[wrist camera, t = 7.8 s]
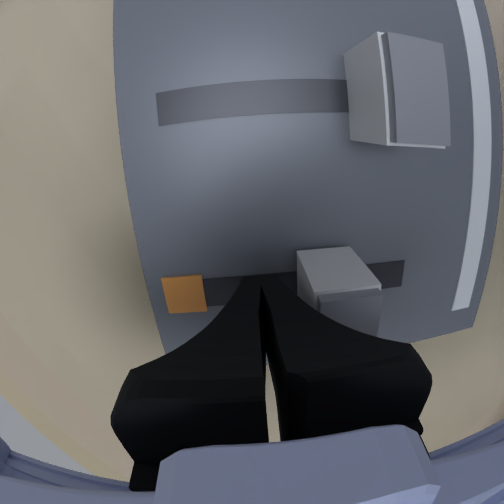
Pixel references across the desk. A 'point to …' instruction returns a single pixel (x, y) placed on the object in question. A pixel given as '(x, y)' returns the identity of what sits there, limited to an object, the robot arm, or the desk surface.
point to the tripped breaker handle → (340, 287)
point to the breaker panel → (310, 150)
